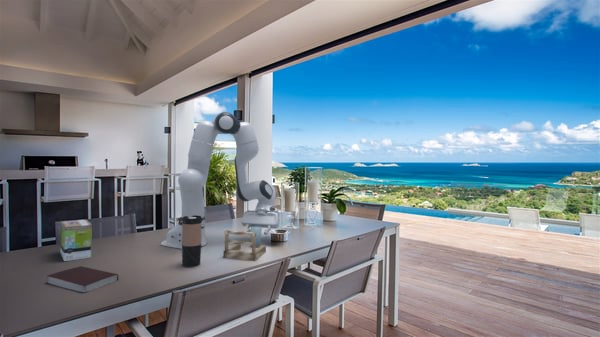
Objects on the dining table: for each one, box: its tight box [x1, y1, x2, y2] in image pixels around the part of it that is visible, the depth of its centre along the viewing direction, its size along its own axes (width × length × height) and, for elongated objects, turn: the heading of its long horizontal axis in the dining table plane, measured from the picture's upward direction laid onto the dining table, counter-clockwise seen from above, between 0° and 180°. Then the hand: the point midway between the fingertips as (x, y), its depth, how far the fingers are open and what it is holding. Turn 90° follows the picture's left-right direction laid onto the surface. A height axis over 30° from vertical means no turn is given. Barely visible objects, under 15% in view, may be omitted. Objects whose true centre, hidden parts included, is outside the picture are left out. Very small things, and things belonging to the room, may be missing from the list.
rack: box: [222, 229, 267, 261], centre depth 152 cm, size 15×15×12 cm
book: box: [46, 266, 119, 294], centre depth 115 cm, size 12×19×3 cm, turn 68°
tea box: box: [59, 219, 93, 262], centre depth 144 cm, size 15×10×15 cm, turn 41°
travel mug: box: [181, 215, 202, 268], centre depth 136 cm, size 8×8×20 cm
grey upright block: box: [249, 226, 263, 249], centre depth 166 cm, size 6×6×10 cm
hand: (256, 233), depth 167 cm, fingers open, 8 cm apart
